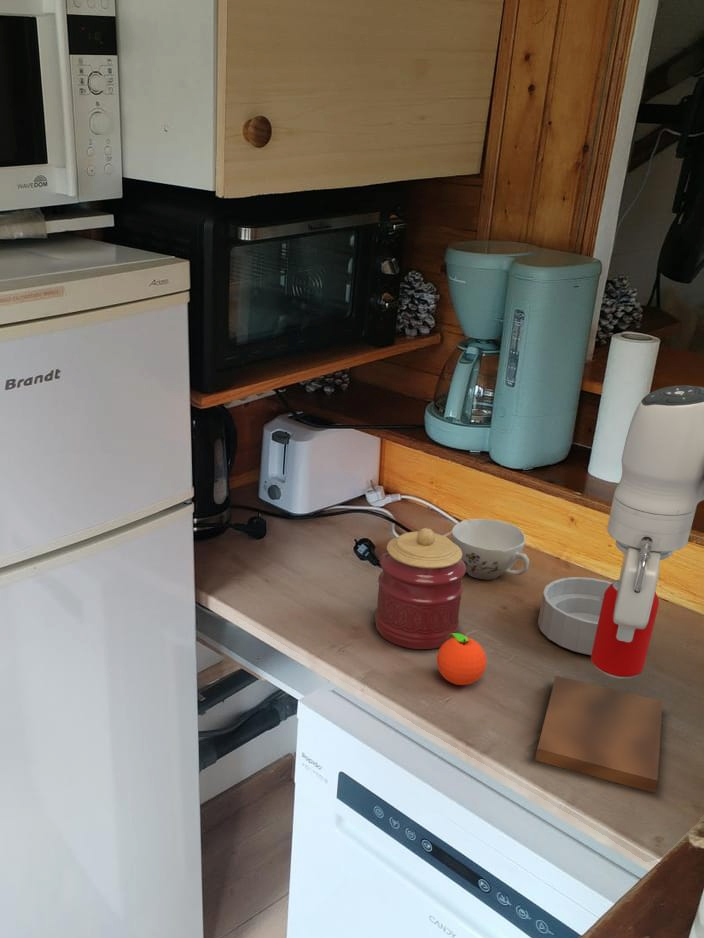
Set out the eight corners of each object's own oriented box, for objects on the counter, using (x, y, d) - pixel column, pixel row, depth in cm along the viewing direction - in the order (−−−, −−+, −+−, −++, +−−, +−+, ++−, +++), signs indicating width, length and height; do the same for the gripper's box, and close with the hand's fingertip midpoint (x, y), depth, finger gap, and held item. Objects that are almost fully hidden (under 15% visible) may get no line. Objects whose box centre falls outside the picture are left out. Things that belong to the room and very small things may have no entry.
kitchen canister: (357, 630, 144) (366, 529, 136) (402, 601, 152) (413, 504, 145) (429, 661, 136) (442, 556, 128) (472, 628, 144) (486, 528, 137)
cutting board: (659, 712, 125) (662, 700, 124) (654, 793, 110) (657, 780, 109) (553, 687, 130) (555, 675, 129) (534, 760, 115) (537, 748, 114)
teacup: (432, 568, 163) (437, 528, 160) (478, 551, 170) (483, 512, 166) (499, 602, 152) (506, 559, 149) (545, 582, 159) (553, 541, 155)
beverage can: (640, 687, 112) (661, 603, 106) (587, 675, 114) (604, 592, 109) (642, 663, 117) (662, 581, 111) (591, 651, 119) (608, 571, 114)
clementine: (422, 667, 134) (427, 626, 131) (464, 660, 136) (470, 620, 133) (448, 698, 127) (454, 655, 124) (492, 690, 129) (499, 648, 126)
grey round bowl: (642, 621, 147) (649, 589, 144) (636, 668, 134) (645, 634, 132) (544, 601, 153) (550, 569, 150) (531, 644, 140) (537, 611, 138)
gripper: (677, 564, 97) (649, 673, 103) (680, 497, 113) (656, 594, 119) (614, 553, 99) (590, 659, 105) (626, 489, 116) (605, 584, 122)
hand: (625, 624), depth 112 cm, fingers closed on beverage can, 6 cm apart
